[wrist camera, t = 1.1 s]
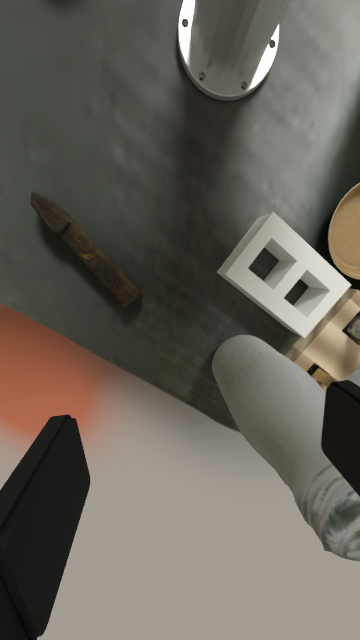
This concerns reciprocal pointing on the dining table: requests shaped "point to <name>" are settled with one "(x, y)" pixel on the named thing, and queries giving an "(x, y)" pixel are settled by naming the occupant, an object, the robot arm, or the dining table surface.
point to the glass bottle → (289, 435)
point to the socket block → (331, 341)
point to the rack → (284, 275)
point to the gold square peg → (323, 377)
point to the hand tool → (86, 250)
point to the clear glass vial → (353, 327)
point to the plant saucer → (346, 234)
